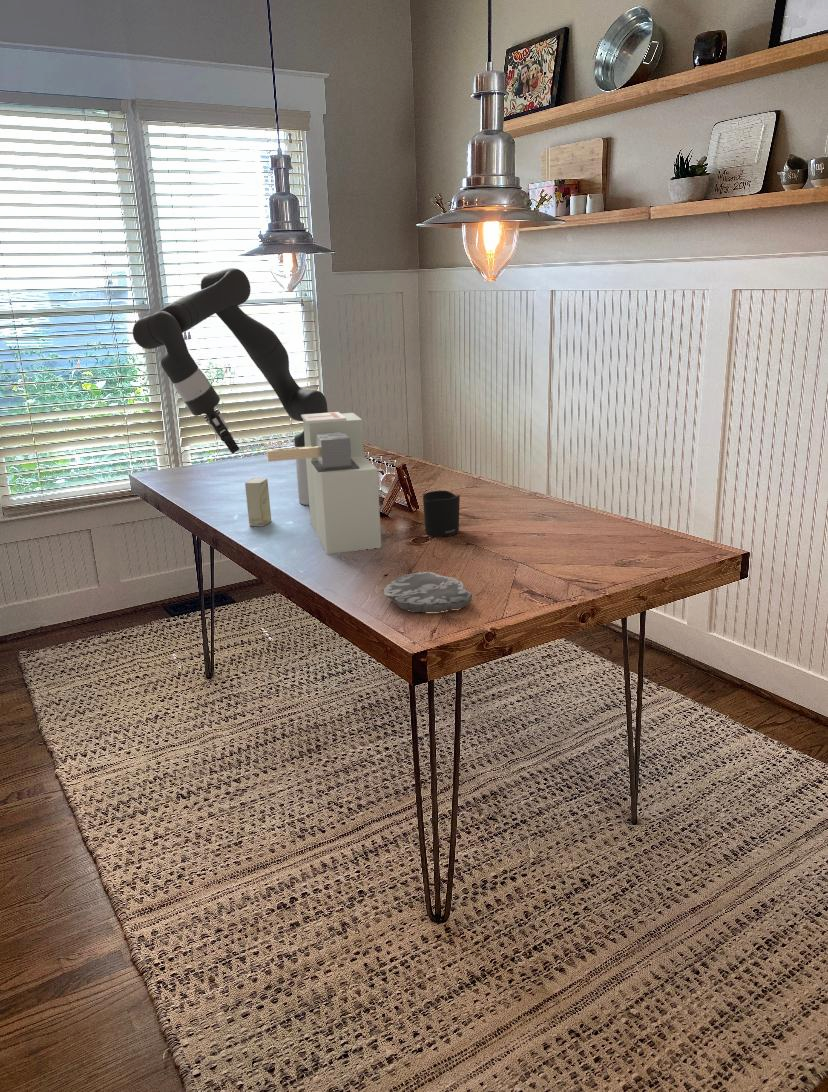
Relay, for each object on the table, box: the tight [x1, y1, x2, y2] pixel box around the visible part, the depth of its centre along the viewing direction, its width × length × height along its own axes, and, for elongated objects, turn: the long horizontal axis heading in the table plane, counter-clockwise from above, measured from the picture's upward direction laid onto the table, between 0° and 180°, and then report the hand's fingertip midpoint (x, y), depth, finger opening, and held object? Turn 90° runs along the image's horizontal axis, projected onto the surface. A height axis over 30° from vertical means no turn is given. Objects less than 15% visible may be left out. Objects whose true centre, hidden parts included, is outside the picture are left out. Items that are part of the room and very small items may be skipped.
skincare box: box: [244, 477, 272, 527], centre depth 233 cm, size 6×4×12 cm
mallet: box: [266, 432, 352, 469], centre depth 207 cm, size 20×9×7 cm, turn 105°
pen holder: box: [422, 490, 461, 537], centre depth 220 cm, size 9×9×10 cm
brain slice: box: [382, 571, 473, 613], centre depth 175 cm, size 20×17×3 cm
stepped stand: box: [301, 411, 382, 555], centre depth 217 cm, size 14×28×30 cm, turn 15°
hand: (232, 446), depth 210 cm, fingers open, 8 cm apart
